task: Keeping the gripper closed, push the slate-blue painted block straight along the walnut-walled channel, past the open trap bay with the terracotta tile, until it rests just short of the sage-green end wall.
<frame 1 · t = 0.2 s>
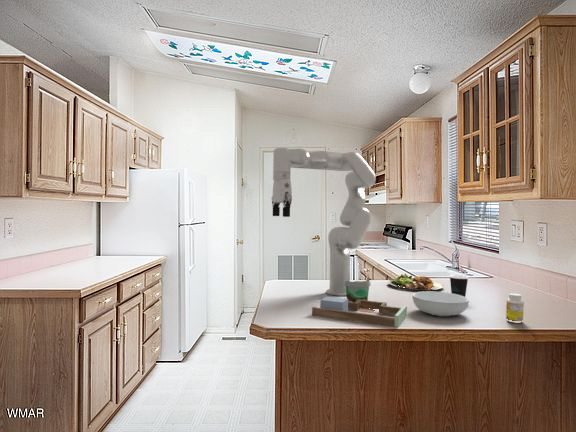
hand: (281, 216, 186), 37 cm above the countertop, tool pointing down, fingers open, 9 cm apart
dixie cup: (458, 301, 190), on the countertop
plate of food: (415, 287, 223), on the countertop
block: (334, 313, 167), on the countertop
supplement bottle: (514, 322, 157), on the countertop
serving bowl: (439, 314, 168), on the countertop
food container: (360, 304, 182), on the countertop
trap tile: (369, 310, 171), resting in channel walls
end wall: (400, 321, 156), on the countertop
channel walls: (357, 315, 163), on the countertop
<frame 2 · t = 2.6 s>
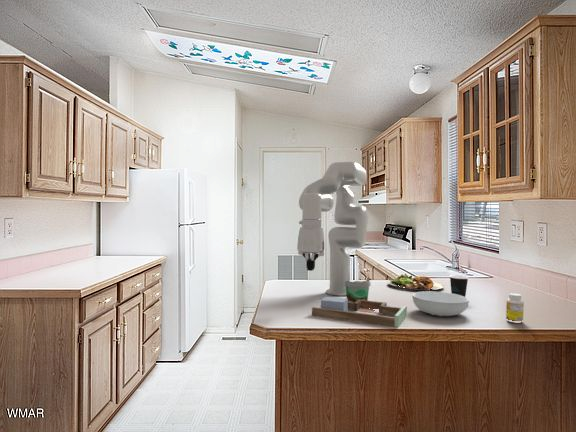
hand: (310, 270, 170), 16 cm above the countertop, tool pointing down, fingers closed
nothing on the countertop moved.
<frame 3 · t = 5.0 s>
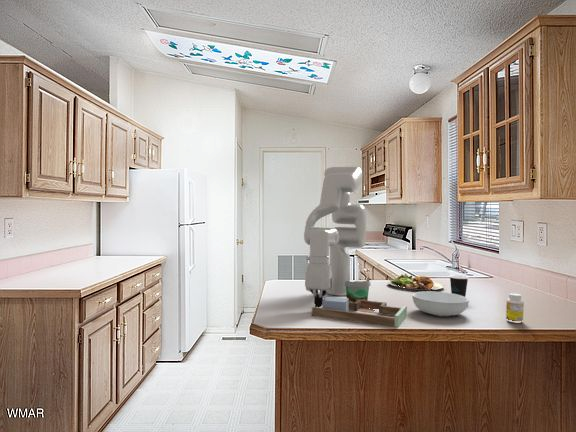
hand: (318, 306, 169), 2 cm above the countertop, tool pointing down, fingers closed
nothing on the countertop moved.
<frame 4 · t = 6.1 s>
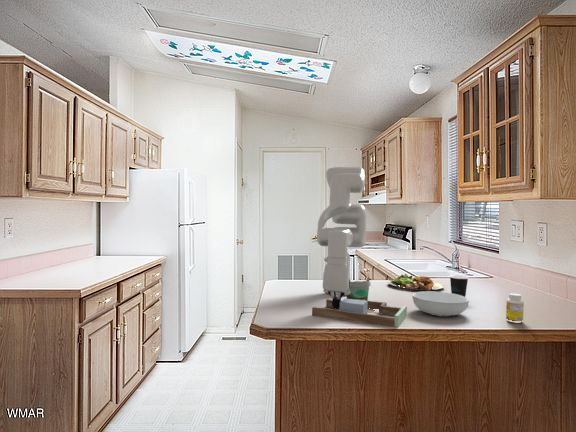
hand: (336, 308, 166), 2 cm above the countertop, tool pointing down, fingers closed
block: (353, 315, 163), on the countertop, touching gripper
everything else where it was.
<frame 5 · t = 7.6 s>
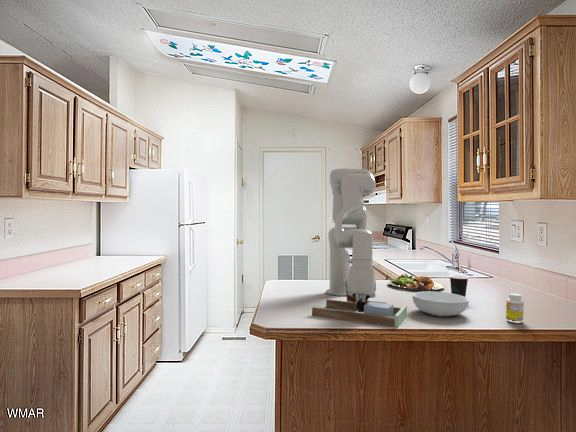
hand: (361, 311, 162), 2 cm above the countertop, tool pointing down, fingers closed
block: (378, 319, 158), on the countertop, touching gripper
everything else where it was.
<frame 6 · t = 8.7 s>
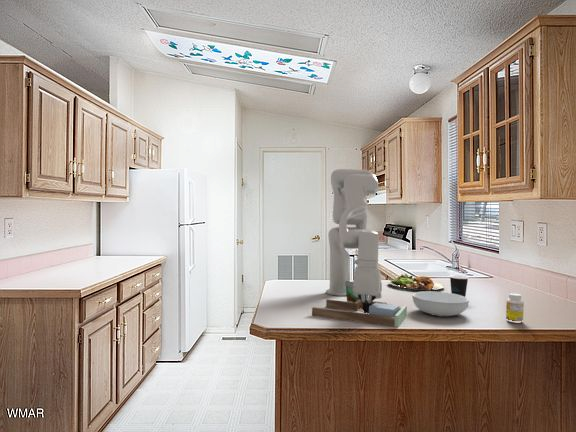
hand: (367, 312, 161), 2 cm above the countertop, tool pointing down, fingers closed
block: (384, 321, 157), on the countertop
everything else where it was.
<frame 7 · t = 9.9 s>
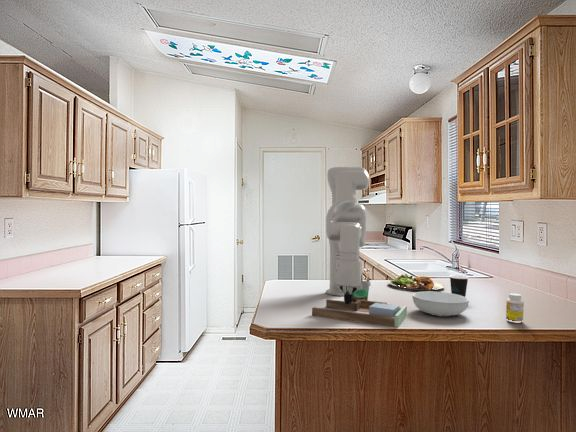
hand: (348, 303, 165), 4 cm above the countertop, tool pointing down, fingers closed
nothing on the countertop moved.
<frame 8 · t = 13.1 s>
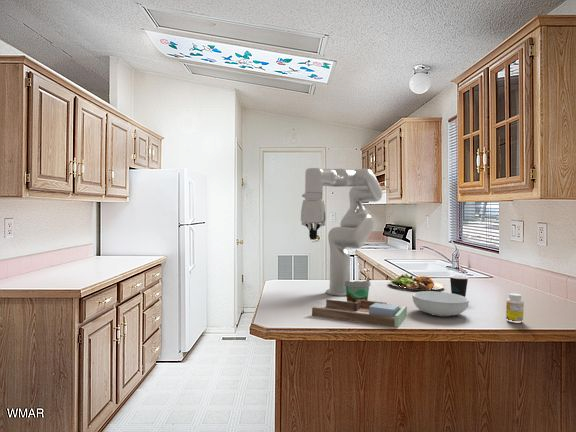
hand: (313, 239, 185), 27 cm above the countertop, tool pointing down, fingers closed
nothing on the countertop moved.
at the end: block inside the target area (1.9 cm from its centre), on the countertop; block tilted 0° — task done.
